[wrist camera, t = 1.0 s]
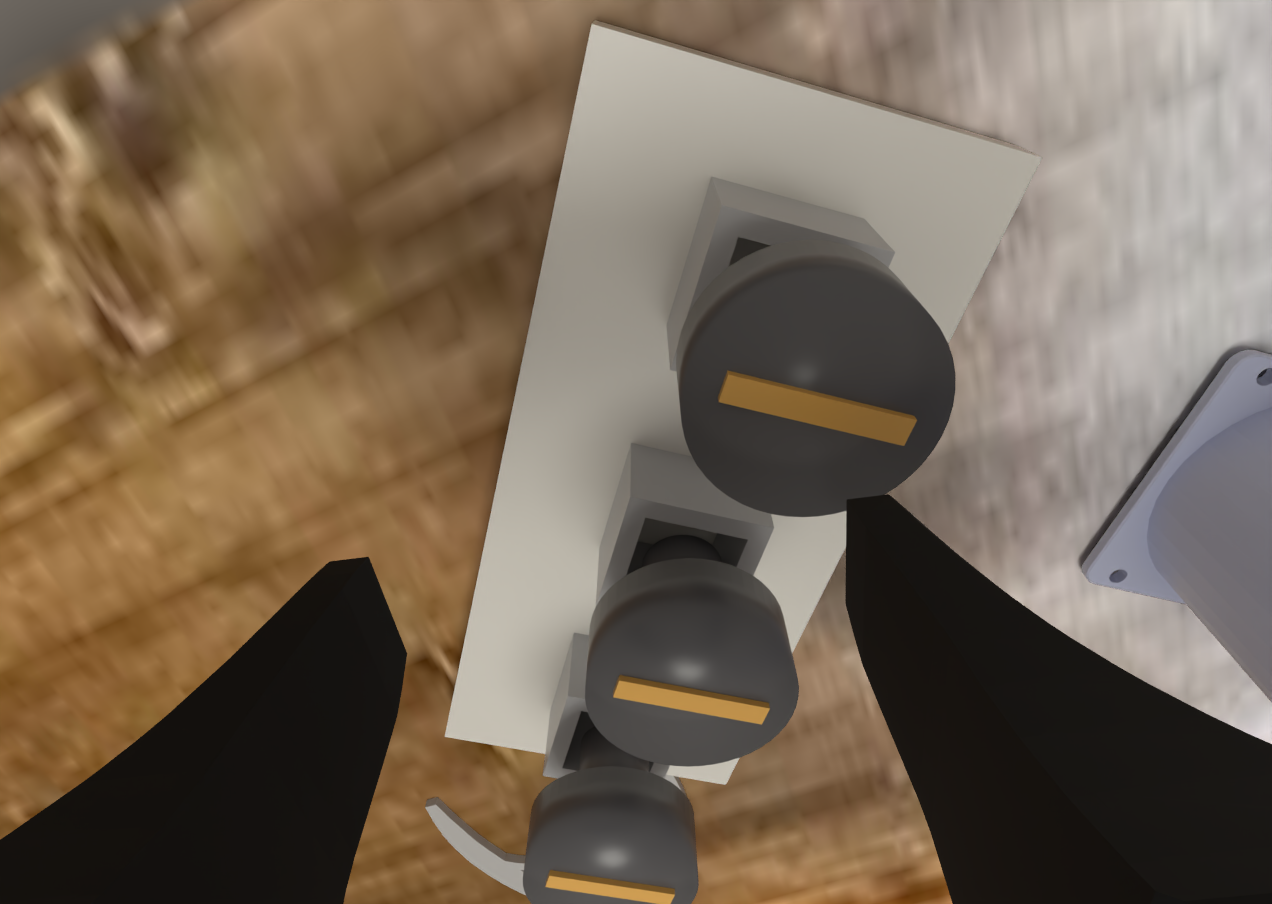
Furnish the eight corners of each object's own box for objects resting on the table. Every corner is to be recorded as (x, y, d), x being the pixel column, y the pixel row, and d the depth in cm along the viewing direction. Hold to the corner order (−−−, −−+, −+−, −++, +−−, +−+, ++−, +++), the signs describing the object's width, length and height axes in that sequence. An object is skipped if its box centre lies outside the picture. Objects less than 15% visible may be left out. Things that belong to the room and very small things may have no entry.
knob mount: (1014, 144, 18) (1100, 183, 15) (721, 749, 29) (733, 851, 26) (595, 20, 17) (585, 32, 14) (453, 701, 28) (428, 802, 25)
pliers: (655, 766, 28) (779, 969, 35) (655, 730, 30) (773, 932, 37) (414, 829, 30) (577, 1010, 37) (423, 792, 31) (579, 974, 39)
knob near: (921, 236, 16) (1009, 319, 12) (836, 424, 18) (888, 544, 14) (708, 177, 15) (730, 245, 11) (647, 379, 17) (649, 492, 14)
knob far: (708, 708, 23) (721, 853, 19) (665, 801, 25) (670, 948, 21) (556, 680, 22) (540, 824, 18) (527, 778, 24) (507, 924, 21)
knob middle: (795, 516, 19) (833, 647, 15) (737, 644, 21) (758, 786, 18) (618, 477, 19) (613, 603, 15) (577, 613, 21) (564, 753, 17)
